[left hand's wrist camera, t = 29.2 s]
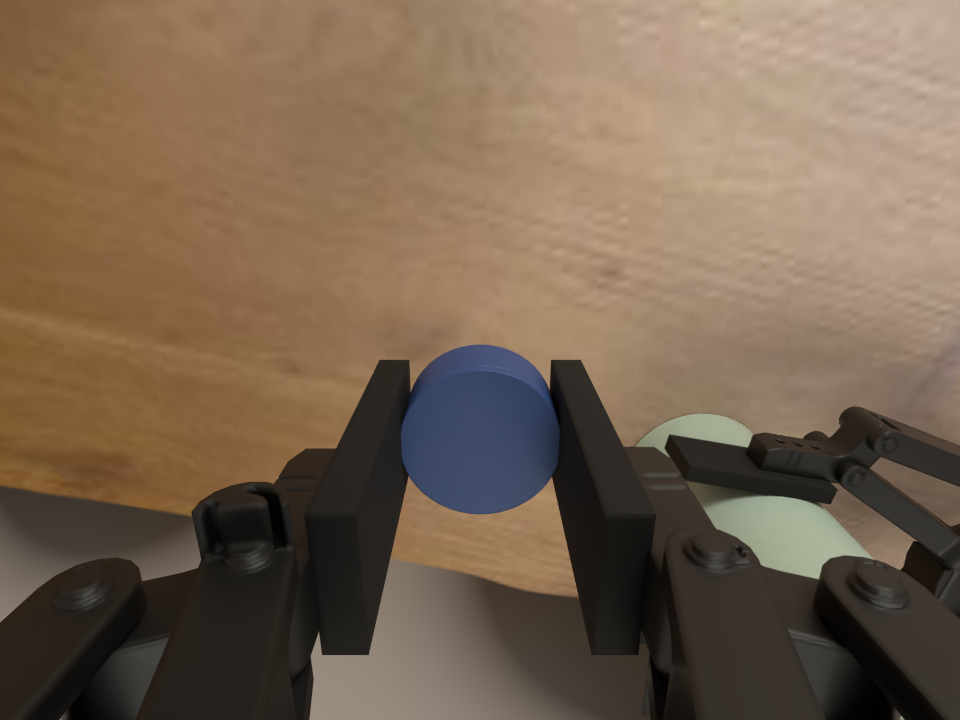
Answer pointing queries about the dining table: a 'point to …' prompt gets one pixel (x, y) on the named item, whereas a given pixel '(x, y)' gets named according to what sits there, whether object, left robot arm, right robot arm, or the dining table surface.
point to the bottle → (761, 507)
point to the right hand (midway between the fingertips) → (647, 539)
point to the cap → (480, 430)
